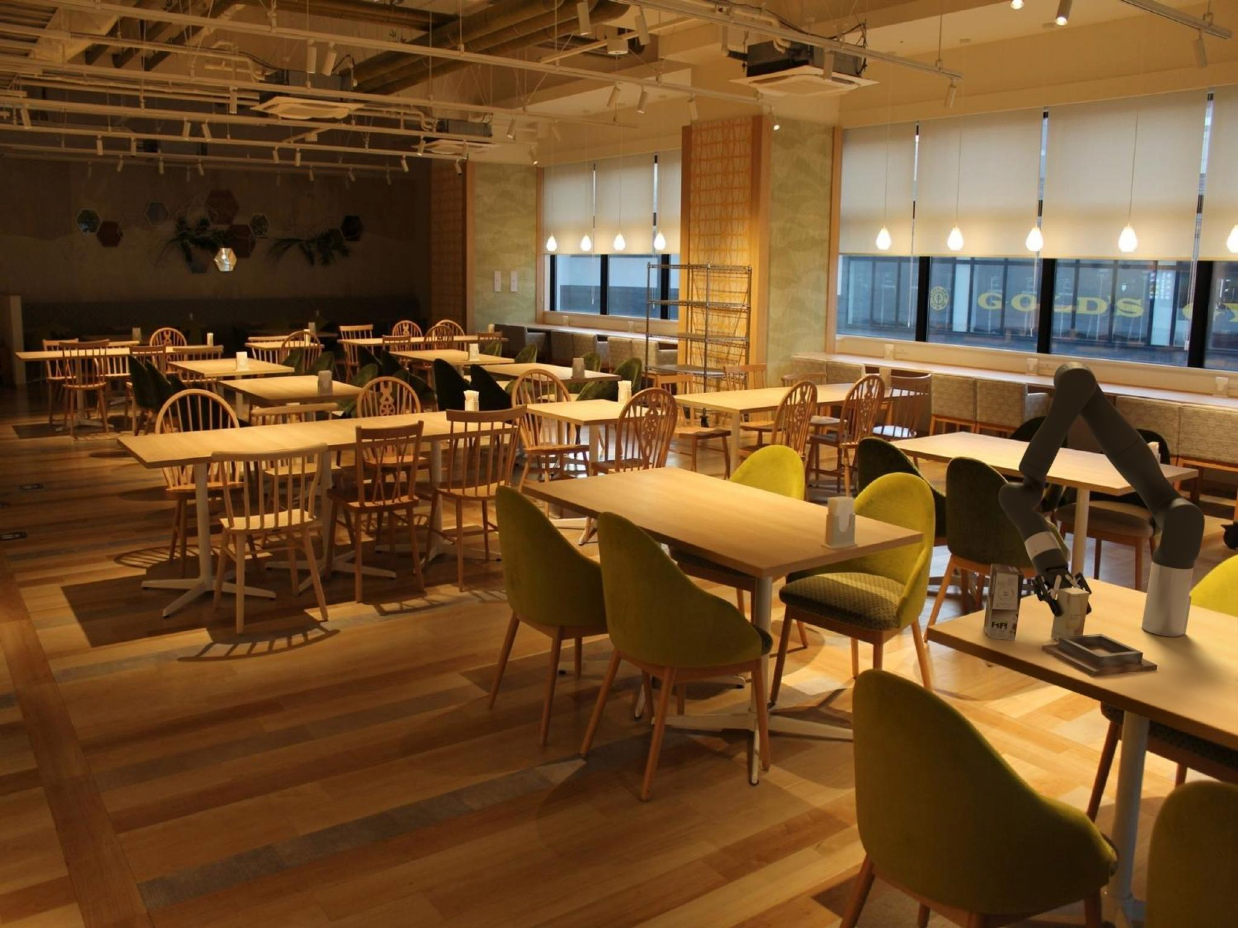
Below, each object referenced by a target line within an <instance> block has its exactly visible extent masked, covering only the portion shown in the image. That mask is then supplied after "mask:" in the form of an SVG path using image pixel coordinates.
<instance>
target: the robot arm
mask: <svg viewBox="0 0 1238 928" xmlns="http://www.w3.org/2000/svg"><path fill="white" fill-rule="evenodd" d="M1052 381H1053V387H1054V389H1055V392H1054V395H1053V398H1052V402H1051V405H1050V407H1049V410H1048V412H1047V413H1046V417H1045V418H1044V419H1043V421H1042V423H1041V425H1040V426H1039V427H1038V430H1037V431H1035V433H1034V434H1033V436H1032V438H1031V440H1030V441H1029V443H1028V445H1027V447H1026V449H1025V451H1024V453H1023V456H1022V457H1021V460H1020V462H1019V464H1018V472H1019V473H1020V474H1021V475H1022V476H1023V481H1022V483H1019V482H1007V483H1005V484H1003V485H1002V486H1001V487H1000V489H999V492H998V502H999V506H1000V507H1001V509H1002V511H1003V512H1004V513H1005V515H1006V516H1007V518H1008V519H1009V520H1010V521H1011V522H1012V524H1013V525H1014V526H1015V527H1016V529H1017V530H1018V533H1019V535H1020V537H1021V539H1022V541H1023V543H1024V546H1025V548H1026V552H1027V554H1028V555H1027V556H1028V557H1029V559H1030V561H1031V564H1032V565H1033V568H1034V570H1035V572H1036V575H1035V576H1034V577H1033V578H1031V579H1030V582H1031V584H1032V586H1033V589H1034V592H1035V594H1036V597H1037V600H1038V601H1039V602H1045V603H1046V604H1048V606H1049V609H1050V611H1051V613H1052V614H1053V616H1054V615H1055V617H1060V616H1061V615H1062V614H1063V611H1062V609H1061V607H1060V604H1059V602H1058V600H1057V594H1058V589H1065V588H1079V589H1081V590H1084V591H1087V592H1089V596H1091V595H1092V594H1093V592H1092V590H1091V588H1090V586H1089V583H1088V582H1087V580H1086V578H1085V576H1084V574H1083V573H1082V572H1080V571H1079V572H1078V573H1075V574H1072V573H1071V572H1070V570H1069V565H1070V564H1069V562H1068V560H1067V558H1066V556H1065V553H1064V551H1063V549H1062V547H1061V545H1060V543H1059V541H1058V540H1057V537H1056V536H1055V534H1054V533H1053V531H1052V529H1051V527H1050V524H1049V523H1048V521H1047V519H1046V517H1045V516H1044V515H1043V514H1042V513H1039V512H1036V511H1035V510H1036V509H1037V508H1038V506H1039V505H1040V504H1041V502H1042V500H1043V497H1044V492H1045V486H1046V481H1047V475H1048V474H1049V472H1050V470H1051V467H1052V466H1053V464H1054V462H1055V460H1056V458H1057V455H1058V453H1059V452H1060V449H1061V447H1062V445H1063V443H1064V440H1065V439H1066V437H1067V435H1068V433H1069V431H1070V429H1071V428H1072V426H1073V424H1074V422H1075V421H1076V419H1077V418H1078V416H1081V418H1082V420H1083V421H1084V422H1085V424H1086V426H1087V428H1088V430H1089V431H1090V433H1091V435H1092V437H1093V439H1094V440H1095V443H1097V445H1098V447H1099V448H1100V450H1101V452H1102V453H1103V455H1104V456H1105V457H1106V459H1108V461H1109V462H1110V464H1111V465H1112V467H1114V468H1115V470H1116V471H1117V472H1118V473H1119V475H1120V476H1121V477H1122V478H1123V479H1124V480H1125V481H1126V482H1127V483H1128V484H1129V485H1130V487H1132V488H1133V490H1134V491H1135V492H1136V493H1137V494H1138V495H1139V497H1140V498H1141V500H1142V501H1143V502H1144V505H1146V507H1147V509H1148V511H1149V513H1150V514H1151V516H1152V518H1153V520H1154V521H1155V523H1156V525H1157V526H1158V527H1159V528H1160V529H1161V536H1160V539H1159V545H1158V547H1157V548H1155V549H1154V550H1153V553H1152V559H1151V564H1150V572H1149V579H1148V584H1147V591H1146V597H1145V604H1144V609H1143V615H1142V616H1143V617H1142V620H1141V621H1142V623H1141V628H1142V629H1143V630H1144V631H1146V632H1148V633H1151V634H1155V635H1158V636H1163V637H1172V638H1173V637H1175V638H1176V637H1181V636H1183V635H1184V634H1186V633H1187V628H1188V621H1189V617H1190V616H1189V615H1190V611H1191V606H1192V605H1191V602H1192V596H1191V595H1190V593H1191V586H1192V580H1193V573H1194V567H1195V563H1196V560H1197V559H1198V557H1199V555H1200V552H1201V547H1202V542H1203V537H1204V533H1205V524H1206V518H1205V515H1204V512H1203V511H1202V510H1201V508H1200V507H1199V506H1197V505H1196V504H1194V503H1193V502H1191V501H1189V500H1187V499H1186V498H1185V497H1184V496H1183V495H1182V494H1181V493H1179V491H1178V490H1177V489H1176V487H1174V486H1173V485H1172V484H1171V482H1170V481H1169V480H1168V479H1167V477H1166V476H1165V474H1164V473H1163V471H1162V468H1161V466H1160V463H1159V462H1158V459H1157V457H1156V455H1155V454H1154V451H1153V450H1152V448H1151V447H1150V446H1149V444H1148V443H1147V441H1146V439H1144V437H1143V436H1142V435H1141V433H1140V432H1139V431H1138V430H1137V428H1135V427H1134V425H1133V424H1132V423H1131V421H1129V420H1128V419H1127V418H1126V417H1125V416H1124V415H1123V413H1122V412H1120V411H1119V410H1118V409H1117V408H1116V406H1114V405H1113V403H1112V402H1111V401H1110V400H1109V398H1108V396H1106V394H1105V393H1104V391H1103V389H1102V387H1100V385H1099V383H1098V381H1097V379H1096V376H1095V374H1094V372H1093V371H1092V370H1091V368H1090V367H1089V366H1087V365H1086V364H1084V363H1081V362H1078V361H1067V362H1064V363H1063V364H1061V365H1060V366H1058V368H1057V369H1056V371H1055V372H1054V375H1053V380H1052ZM1092 610H1093V609H1092V606H1091V604H1090V603H1089V601H1088V605H1087V612H1086V616H1089V614H1091V613H1092Z"/></svg>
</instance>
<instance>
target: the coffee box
mask: <svg viewBox="0 0 1238 928" xmlns="http://www.w3.org/2000/svg"><path fill="white" fill-rule="evenodd" d="M1024 579H1025V574H1024V572H1023V571H1022V570H1021V568H1020V567H1019V566H1018V565H1013V564H1005V563H1001V564H1000V563H999V564H998V563H991V564H990V572H989V580H988V587H987V588H988V589H987V596H986V606H985V614H984V622H983V627H984V630H985V633H986V634H987V637H988V638H990V639H999V640H1006V641H1013V642H1014V641H1016V636H1017V628H1018V623H1019V617H1020V616H1019V615H1020V609H1021V607H1020V606H1021V599H1022V593H1023V587H1024Z"/></svg>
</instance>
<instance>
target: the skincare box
mask: <svg viewBox="0 0 1238 928" xmlns="http://www.w3.org/2000/svg"><path fill="white" fill-rule="evenodd" d="M1056 599H1057V600H1058V602H1059V604H1060V607H1061V609H1062V611H1063V614H1062V615H1061V616H1060V617H1055V615H1054V614H1053V620H1052V626H1051V633H1050V638H1051V639H1054V640H1056V641H1058V640H1059V637H1069V636H1081V635H1084V629H1085V623H1086V617H1087V615H1086V612H1087V605H1088V602H1089V599H1090V595H1089V592H1087V591H1085V589H1083V590H1081V589H1079V588H1074V587H1072V588H1065V589H1058V594H1057V595H1056Z"/></svg>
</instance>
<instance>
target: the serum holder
mask: <svg viewBox="0 0 1238 928" xmlns="http://www.w3.org/2000/svg"><path fill="white" fill-rule="evenodd" d="M1041 651H1042V652H1043V653H1046V654H1048V655H1050V656H1052V657H1054V658H1056V659H1058V660H1060V661H1062V662H1064V663H1066V664H1067V665H1070V666H1072V667H1074V668H1075V669H1077V670H1080V671H1082V672H1084V673H1086V674H1088V675H1089V676H1091V677H1094V678H1095V677H1104V676H1114V675H1121V674H1131V673H1132V674H1134V673H1141V672H1152V671H1157V670H1158V666H1159V664H1156V663H1154V662H1152V661H1150V660H1148V659H1145V658H1143V655H1144V652H1142V651H1141V650H1138V649H1136V648H1134V647H1131V646H1129V645H1127V644H1125V643H1123V642H1120V641H1118V640H1116V639H1113V638H1112V637H1109V636H1107V635H1104V634H1103V633H1094V634H1085V635H1084V634H1083V635H1081V636H1069V637H1059V640H1057V643H1056V644H1053V643H1052V644H1046V645H1045V644H1044V645H1042V644H1041Z"/></svg>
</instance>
